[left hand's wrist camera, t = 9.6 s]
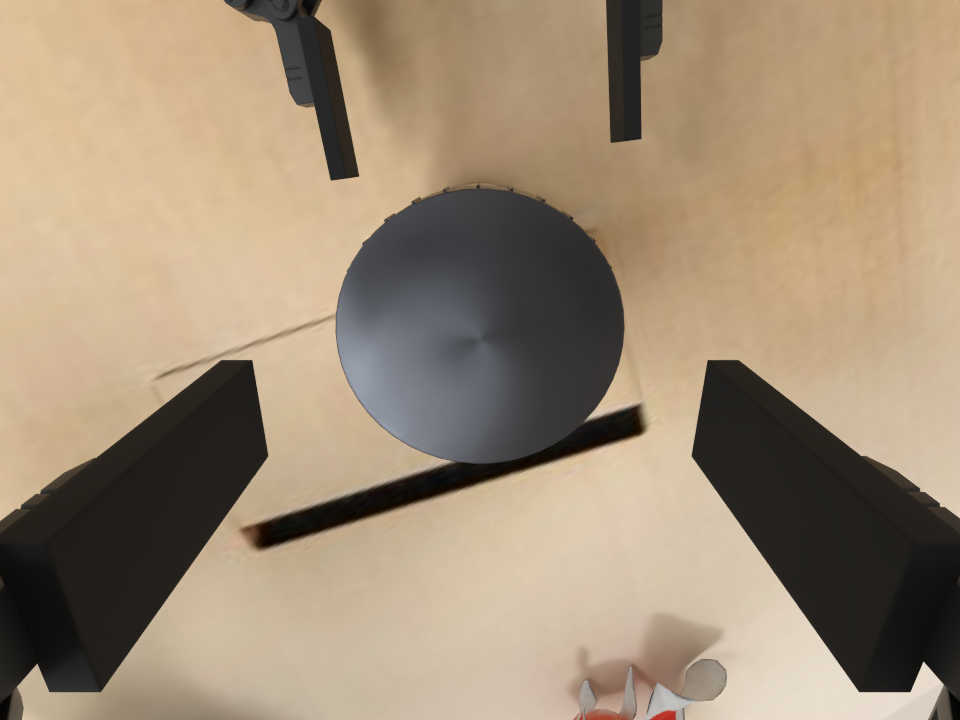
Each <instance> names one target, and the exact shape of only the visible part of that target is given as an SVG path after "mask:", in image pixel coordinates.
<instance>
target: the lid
mask: <svg viewBox="0 0 960 720" xmlns="http://www.w3.org/2000/svg"><path fill="white" fill-rule="evenodd" d="M572 220H573V217H571V216H570V215H568V214H567V213H565V212H564V211H563V212H560V211H559V210H557V209H556V208H554V207H552V206H551V205H549V204H547V203H546V202H545V200H544V199H543V198H541V197H540V196H538V195H537V197H534V196H531V195H529V194H527V193H524V192H521V191H517V190H514V189H513V188H512V187H511V186H508V187H507V188H506V187H499V186H490V185H480V183H477V185H468V186H461V187H455V188H449V186H448V187H446V188H444V189H443V191H439V192H436V193H433V194H431V195H428V196H426V197H424V198H422V199H421V198H420V197H418V198H416V199H415V200H413V201H412V204H411V205H409V206H408V207H406V208H405V209H403V210H402V211H400V212H399V213H397V214H396V215H395V213H394V214H392V215H391V216H389V217H388V218H386V219H385V220H384V221H385V223H384V224H383V225H382V226H381V227H379V228H378V229H377V230H376V231H375V232H374V233H373V234H372V236H371V237H370V238H368V239H367V240H366V241H364V242H363V244H362V245H363V246H362V247H361V249H360V251H359V252H358V254H357V255H356V257H355V258H354V260H353V261H352V263H351V265H350V268H349V269H348V270H347V274H346V276H345V278H344V281H343V285H342V288H341V291H340V294H339V299H338V305H337V312H336V340H337V348H338V353H339V357H340V361H341V364H342V368H343V371H344V373H345V375H346V378H347V380H348V383H349V385H350V387H351V388H352V390H353V392H354V394H355V395H356V397H357V399H358V400H359V402H360V403H361V404H362V406H363V407H364V408H365V410H366V411H367V412H368V413H369V414H370V415H371V417H372V418H373V419H374V420H375V421H376V422H377V423H378V424H379V425H380V426H381V427H383V428H384V429H385V430H386V431H388V432H389V433H390V434H391V435H393V436H394V437H396V438H397V439H399V440H400V441H402V442H404V443H405V444H407V445H408V446H411V447H413V448H415V449H417V450H419V451H421V452H423V453H426V454H429V455H432V456H435V457H438V458H441V459H446V460H451V461H456V462H464V463H496V462H504V461H510V460H514V459H518V458H522V457H526V456H528V455H531V454H534V453H536V452H539V451H541V450H543V449H545V448H547V447H549V446H551V445H553V444H555V443H557V442H558V441H560V440H561V439H563V438H564V437H566V436H567V435H569V434H570V433H571V432H572V431H574V430H575V429H576V428H577V427H578V426H579V425H581V424H582V423H583V422H584V421H585V420H586V419H587V418H588V416H589V415H590V414H591V413H592V412H593V411H594V410H595V409H596V407H597V406H598V404H599V403H600V401H601V400H602V399H603V397H604V396H605V394H606V392H607V390H608V388H609V386H610V384H611V383H612V381H613V378H614V376H615V373H616V370H617V368H618V365H619V361H620V357H621V352H622V348H623V340H624V310H623V305H622V299H621V294H620V290H619V287H618V285H617V282H616V279H615V276H614V273H613V271H612V270H611V269H612V267H611V266H610V265H609V264H608V262H607V260H606V258H605V256H604V255H603V253H602V252H601V251H600V249H599V248H598V246H597V245H596V244H595V242H596V241H595V240H594V239H593V238H592V237H590V236H589V235H588V234H587V233H586V232H585V231H584V230H583V229H582V228H581V227H580V226H579V225H577V224H576V223H575V222H573V221H572Z"/></svg>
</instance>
